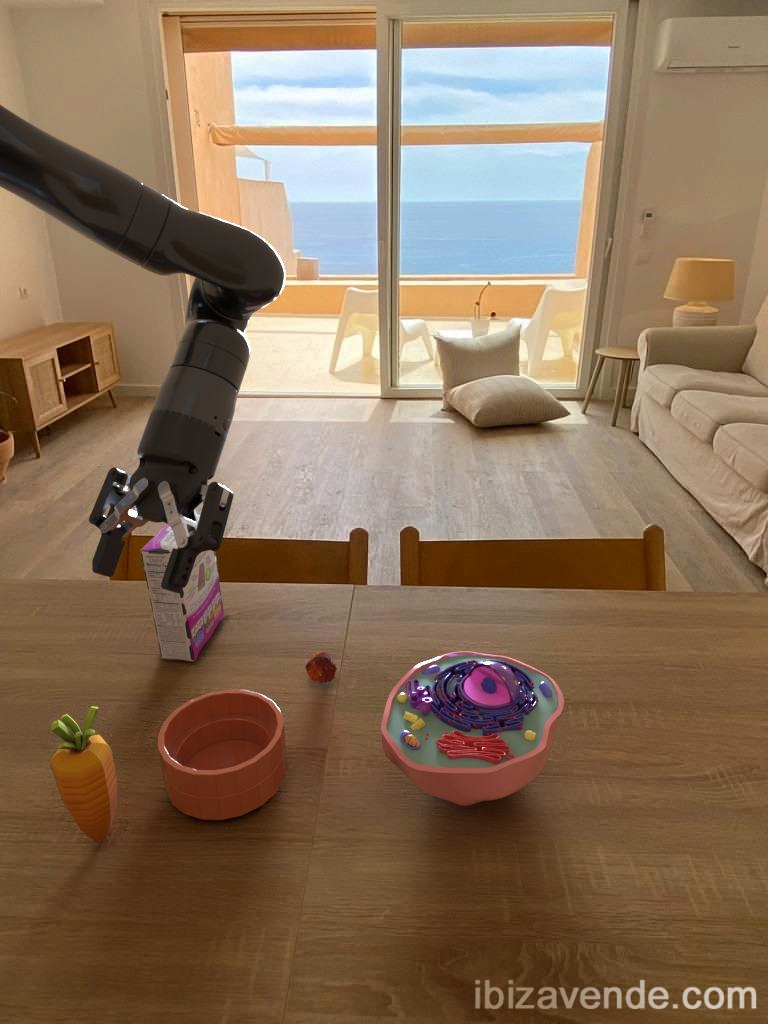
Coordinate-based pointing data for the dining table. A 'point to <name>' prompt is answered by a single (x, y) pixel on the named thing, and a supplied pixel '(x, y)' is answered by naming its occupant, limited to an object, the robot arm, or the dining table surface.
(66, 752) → the carrot
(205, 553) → the candy bar box
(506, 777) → the cell model
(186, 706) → the mixing bowl
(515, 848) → the dining table surface
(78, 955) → the dining table surface
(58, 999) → the dining table surface
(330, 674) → the meatball
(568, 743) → the dining table surface
